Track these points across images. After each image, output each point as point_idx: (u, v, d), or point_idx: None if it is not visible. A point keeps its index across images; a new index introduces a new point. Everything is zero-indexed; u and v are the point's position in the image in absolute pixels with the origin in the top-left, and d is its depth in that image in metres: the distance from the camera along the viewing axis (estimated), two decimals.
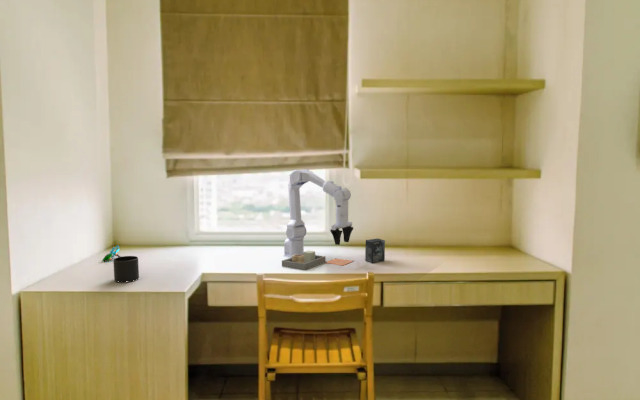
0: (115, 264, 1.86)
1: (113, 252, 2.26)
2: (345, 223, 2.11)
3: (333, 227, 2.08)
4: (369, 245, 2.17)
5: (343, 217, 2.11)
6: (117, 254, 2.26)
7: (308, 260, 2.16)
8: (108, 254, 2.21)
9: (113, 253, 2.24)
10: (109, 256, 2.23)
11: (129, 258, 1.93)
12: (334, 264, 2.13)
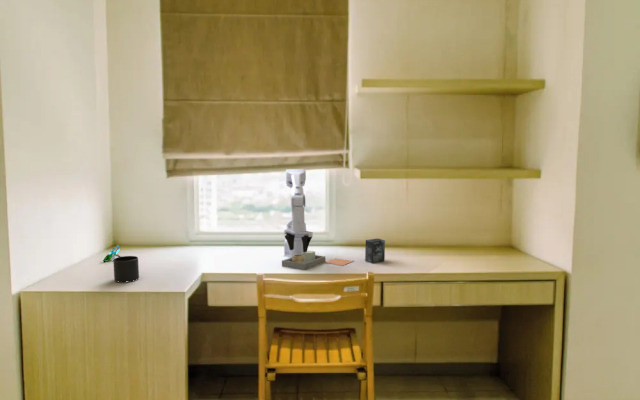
0: (115, 264, 1.86)
1: (113, 252, 2.25)
2: (293, 230, 2.07)
3: None
4: (369, 245, 2.17)
5: (292, 223, 2.08)
6: (117, 254, 2.26)
7: (308, 260, 2.16)
8: (109, 254, 2.21)
9: (113, 253, 2.23)
10: (109, 256, 2.22)
11: (129, 258, 1.93)
12: (334, 264, 2.13)
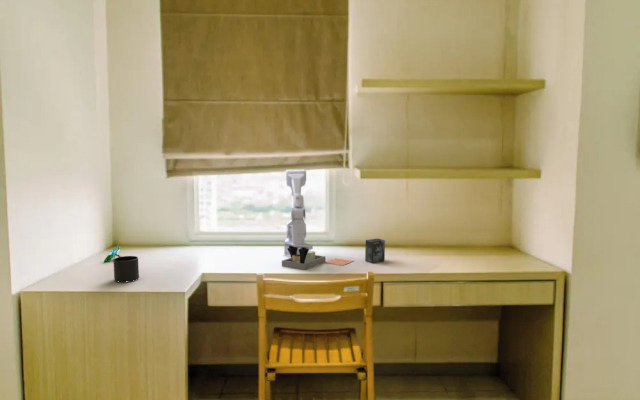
0: (115, 264, 1.86)
1: (114, 252, 2.25)
2: (293, 242, 2.08)
3: None
4: (369, 245, 2.17)
5: (292, 236, 2.08)
6: (118, 254, 2.26)
7: (308, 260, 2.16)
8: (110, 254, 2.20)
9: (114, 253, 2.23)
10: (110, 256, 2.22)
11: (129, 258, 1.93)
12: (334, 264, 2.13)
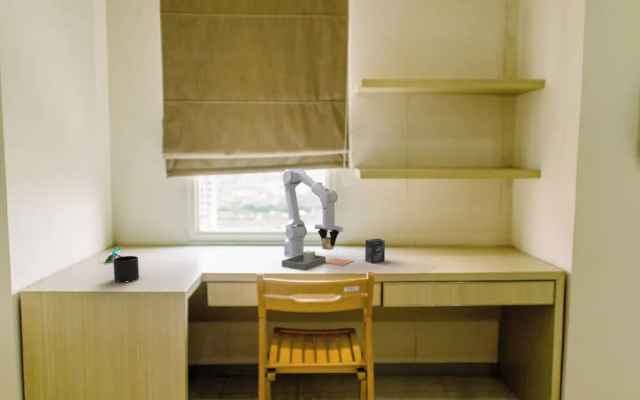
0: (115, 264, 1.86)
1: (115, 253, 2.24)
2: (323, 225, 2.12)
3: None
4: (369, 245, 2.17)
5: None
6: (119, 255, 2.25)
7: (308, 260, 2.16)
8: (111, 255, 2.20)
9: (115, 254, 2.22)
10: (111, 257, 2.21)
11: (129, 258, 1.93)
12: (334, 264, 2.13)
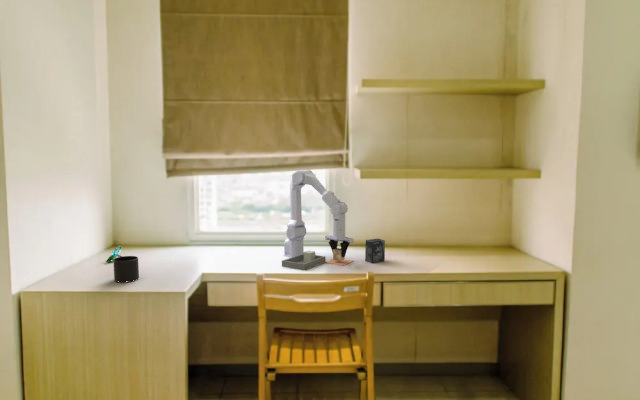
0: (115, 264, 1.86)
1: (115, 253, 2.24)
2: (334, 236, 2.15)
3: None
4: (369, 245, 2.17)
5: (333, 230, 2.15)
6: (120, 255, 2.25)
7: (308, 260, 2.16)
8: (112, 255, 2.19)
9: (116, 254, 2.22)
10: (112, 257, 2.21)
11: (129, 258, 1.93)
12: (334, 264, 2.13)
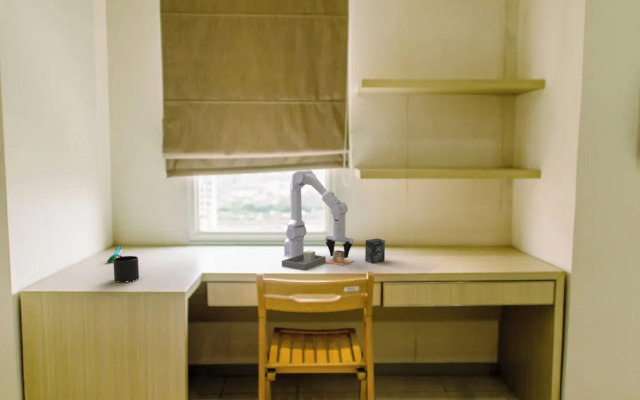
0: (115, 264, 1.86)
1: (116, 253, 2.24)
2: (334, 237, 2.15)
3: None
4: (369, 245, 2.17)
5: (333, 230, 2.15)
6: (120, 255, 2.24)
7: (308, 260, 2.16)
8: (112, 255, 2.19)
9: (117, 254, 2.22)
10: (113, 257, 2.20)
11: (129, 258, 1.93)
12: (334, 264, 2.13)
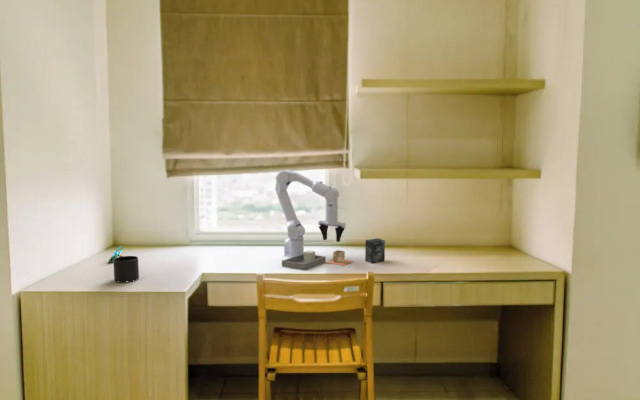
0: (115, 264, 1.86)
1: (117, 253, 2.23)
2: (327, 221, 2.22)
3: None
4: (369, 245, 2.17)
5: (326, 215, 2.23)
6: None
7: (308, 260, 2.16)
8: (113, 255, 2.18)
9: (118, 254, 2.21)
10: (114, 257, 2.20)
11: (129, 258, 1.93)
12: (334, 264, 2.13)
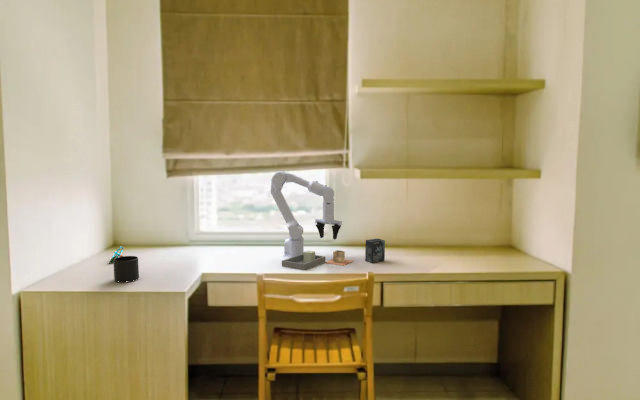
0: (115, 264, 1.86)
1: (117, 253, 2.23)
2: (323, 219, 2.27)
3: None
4: (369, 245, 2.17)
5: (323, 213, 2.27)
6: None
7: (308, 260, 2.16)
8: (114, 255, 2.18)
9: (118, 254, 2.21)
10: (115, 257, 2.20)
11: (129, 258, 1.93)
12: (334, 264, 2.13)
